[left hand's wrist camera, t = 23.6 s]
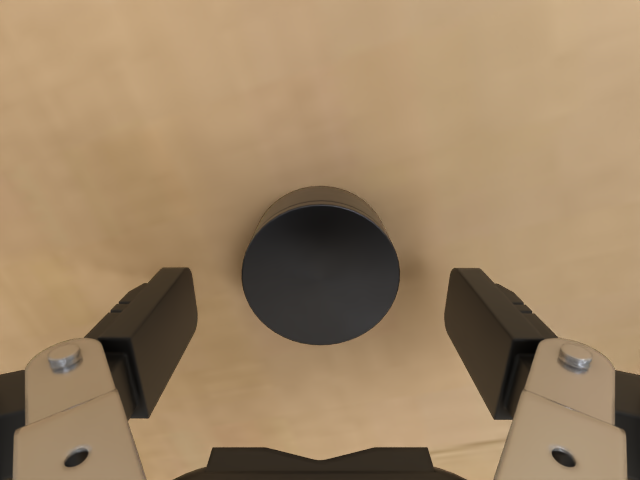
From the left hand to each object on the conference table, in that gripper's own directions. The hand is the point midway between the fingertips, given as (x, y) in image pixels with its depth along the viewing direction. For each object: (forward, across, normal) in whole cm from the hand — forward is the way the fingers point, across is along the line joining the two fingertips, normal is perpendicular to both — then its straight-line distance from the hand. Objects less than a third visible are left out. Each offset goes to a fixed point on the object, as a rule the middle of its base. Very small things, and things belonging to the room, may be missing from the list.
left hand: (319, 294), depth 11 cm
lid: (0, 0, -1) cm, 1 cm away
